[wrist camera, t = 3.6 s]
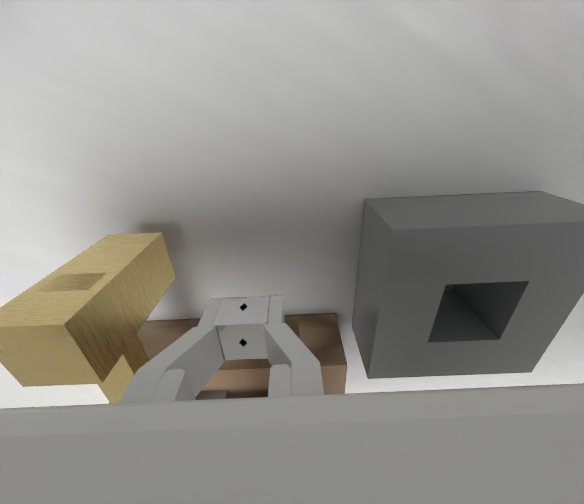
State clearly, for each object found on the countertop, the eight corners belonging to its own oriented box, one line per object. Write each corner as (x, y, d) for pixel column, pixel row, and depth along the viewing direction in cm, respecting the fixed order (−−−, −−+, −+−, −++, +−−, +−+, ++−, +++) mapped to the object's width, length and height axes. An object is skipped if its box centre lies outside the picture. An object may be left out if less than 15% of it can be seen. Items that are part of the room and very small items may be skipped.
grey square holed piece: (539, 191, 16) (631, 219, 12) (482, 320, 21) (531, 372, 17) (365, 199, 16) (392, 229, 12) (352, 325, 21) (367, 378, 17)
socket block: (334, 313, 20) (351, 385, 15) (330, 399, 26) (341, 474, 21) (140, 321, 21) (87, 395, 15) (178, 405, 26) (150, 481, 21)
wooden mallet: (313, 225, 14) (332, 313, 8) (313, 414, 23) (322, 523, 17) (108, 234, 14) (-31, 328, 8) (189, 419, 23) (153, 529, 17)
